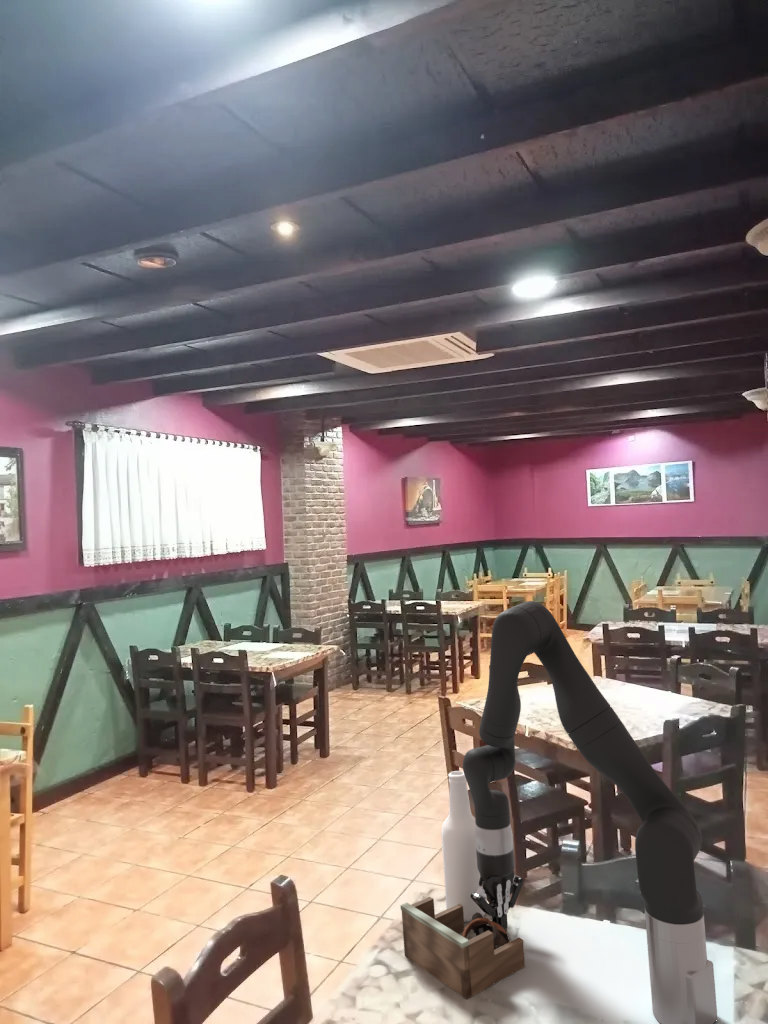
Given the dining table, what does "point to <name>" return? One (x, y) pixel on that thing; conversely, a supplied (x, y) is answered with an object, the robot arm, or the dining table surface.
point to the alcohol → (460, 849)
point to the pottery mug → (481, 926)
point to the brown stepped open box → (456, 949)
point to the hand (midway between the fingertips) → (500, 932)
